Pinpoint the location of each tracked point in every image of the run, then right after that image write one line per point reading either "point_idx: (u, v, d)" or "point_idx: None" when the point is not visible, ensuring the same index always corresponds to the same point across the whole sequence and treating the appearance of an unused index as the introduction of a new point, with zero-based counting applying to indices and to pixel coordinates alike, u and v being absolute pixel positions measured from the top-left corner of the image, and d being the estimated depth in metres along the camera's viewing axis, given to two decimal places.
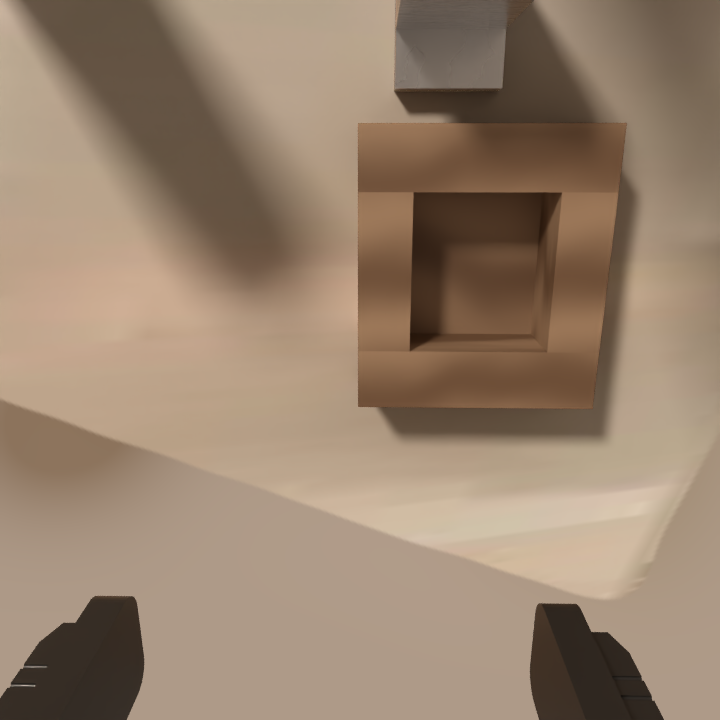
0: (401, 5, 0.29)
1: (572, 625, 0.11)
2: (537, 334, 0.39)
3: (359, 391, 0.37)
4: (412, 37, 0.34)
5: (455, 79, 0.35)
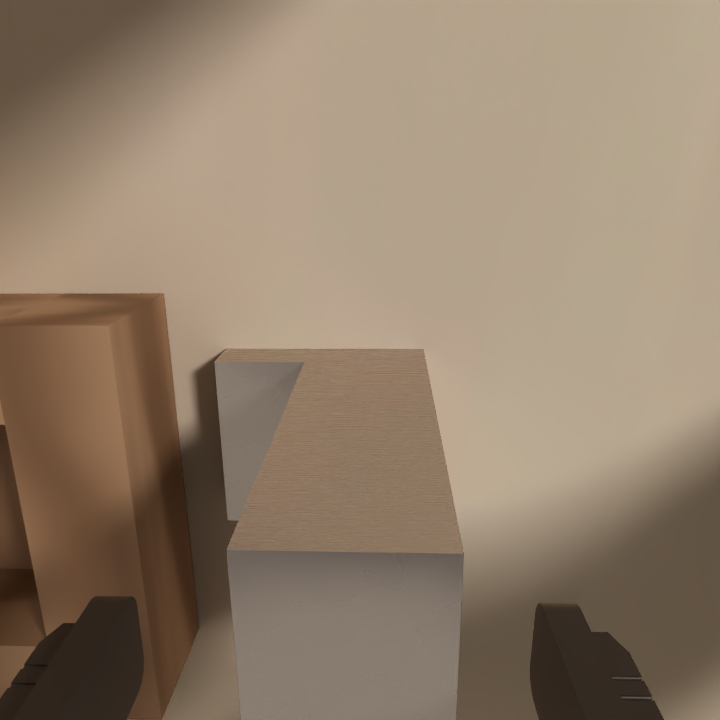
0: None
1: (572, 625, 0.11)
2: None
3: None
4: (292, 388, 0.21)
5: (234, 453, 0.22)
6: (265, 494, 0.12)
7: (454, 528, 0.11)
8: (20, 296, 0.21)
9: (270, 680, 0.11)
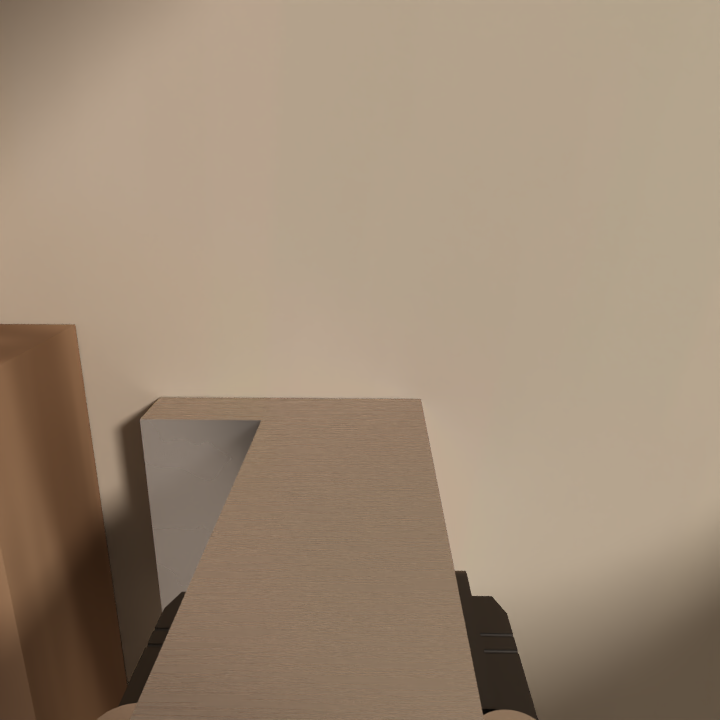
0: (204, 553, 0.10)
1: None
2: None
3: None
4: (246, 454, 0.16)
5: (170, 537, 0.16)
6: None
7: None
8: None
9: None
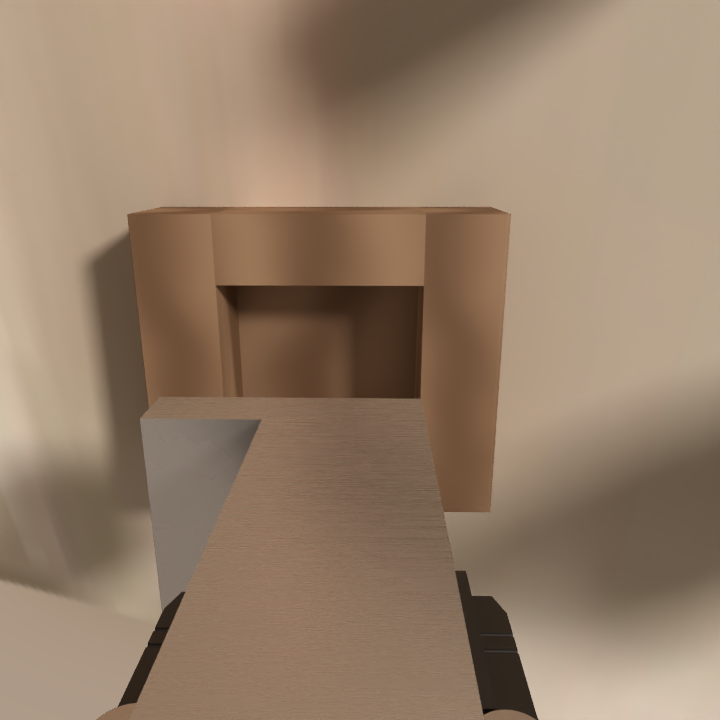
0: (204, 553, 0.10)
1: None
2: None
3: (150, 216, 0.26)
4: (246, 453, 0.16)
5: (170, 536, 0.16)
6: None
7: None
8: (391, 207, 0.30)
9: None
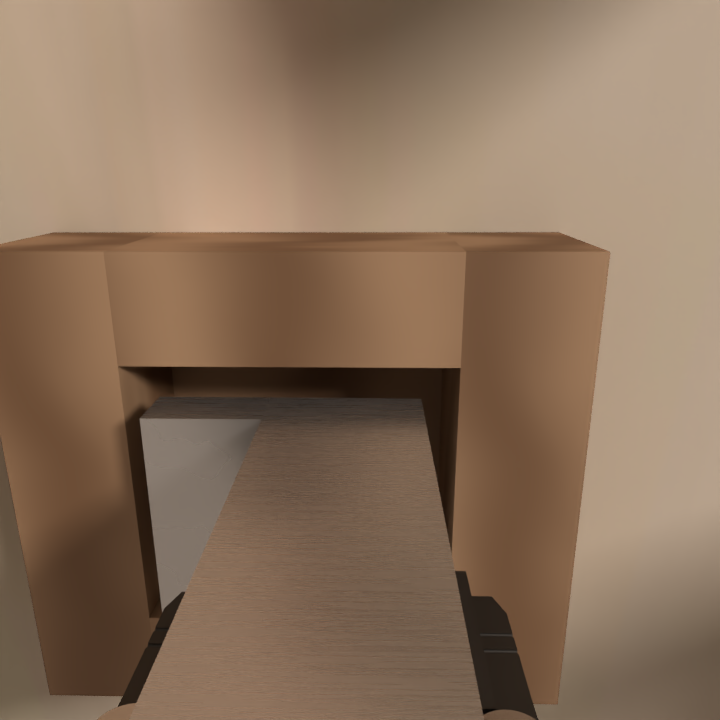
0: (204, 553, 0.10)
1: None
2: None
3: (4, 254, 0.16)
4: (246, 453, 0.16)
5: (170, 537, 0.16)
6: None
7: None
8: (404, 234, 0.19)
9: None
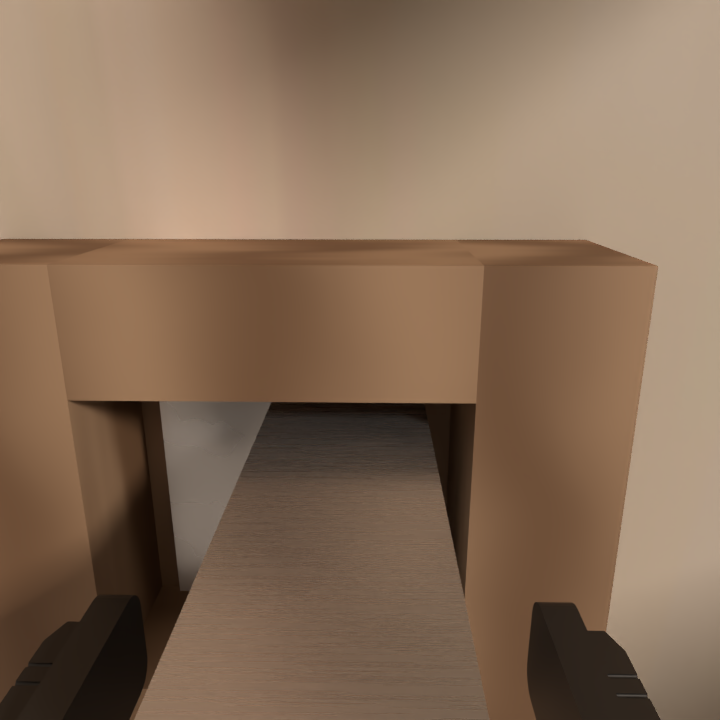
0: None
1: (568, 623, 0.11)
2: (158, 623, 0.18)
3: None
4: (257, 432, 0.17)
5: (187, 511, 0.18)
6: (193, 637, 0.08)
7: (481, 712, 0.07)
8: (408, 241, 0.17)
9: None
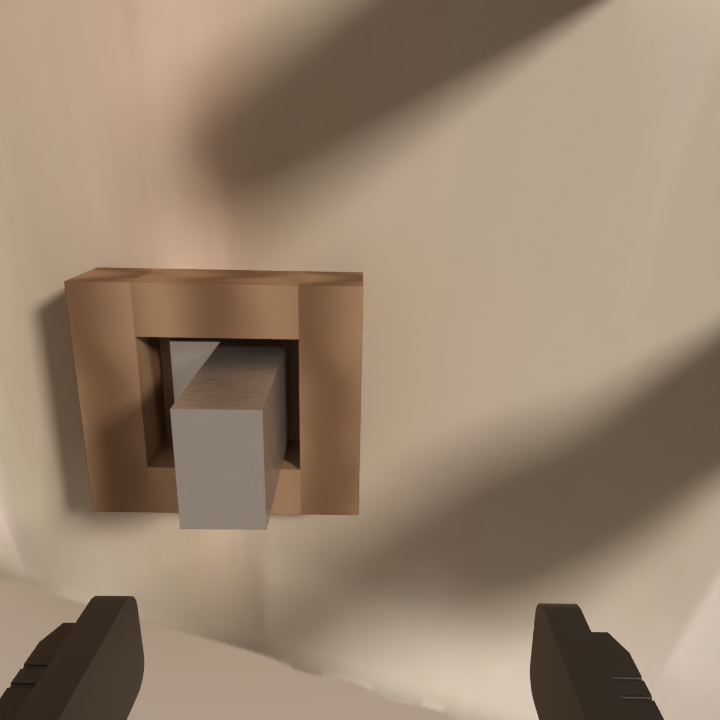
0: (198, 372, 0.32)
1: (572, 625, 0.11)
2: (166, 449, 0.39)
3: (82, 283, 0.33)
4: None
5: (181, 394, 0.38)
6: (188, 393, 0.29)
7: (262, 403, 0.28)
8: (281, 272, 0.37)
9: (188, 465, 0.28)
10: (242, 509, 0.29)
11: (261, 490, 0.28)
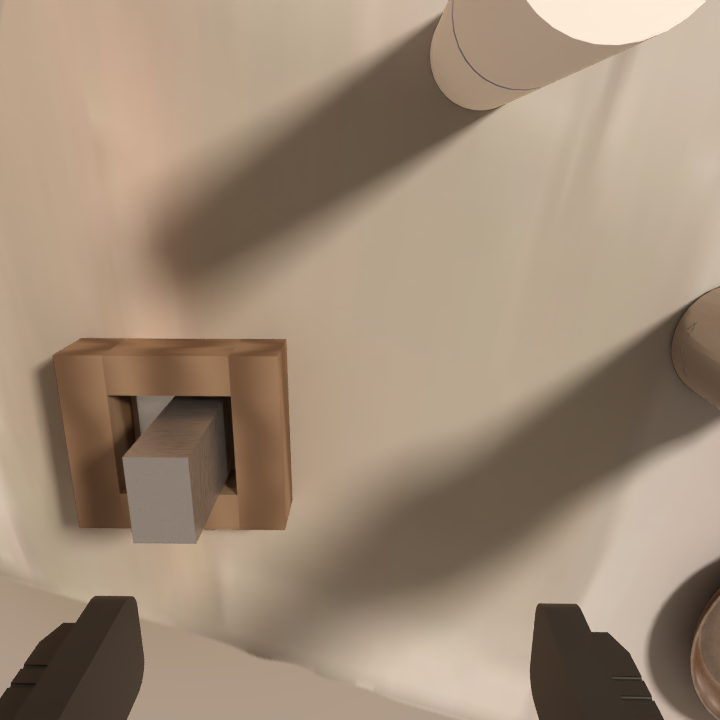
0: None
1: (572, 625, 0.11)
2: None
3: (66, 356, 0.44)
4: None
5: None
6: (138, 444, 0.40)
7: (190, 452, 0.38)
8: (222, 340, 0.48)
9: (137, 497, 0.39)
10: (177, 528, 0.39)
11: (191, 515, 0.39)
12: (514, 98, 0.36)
